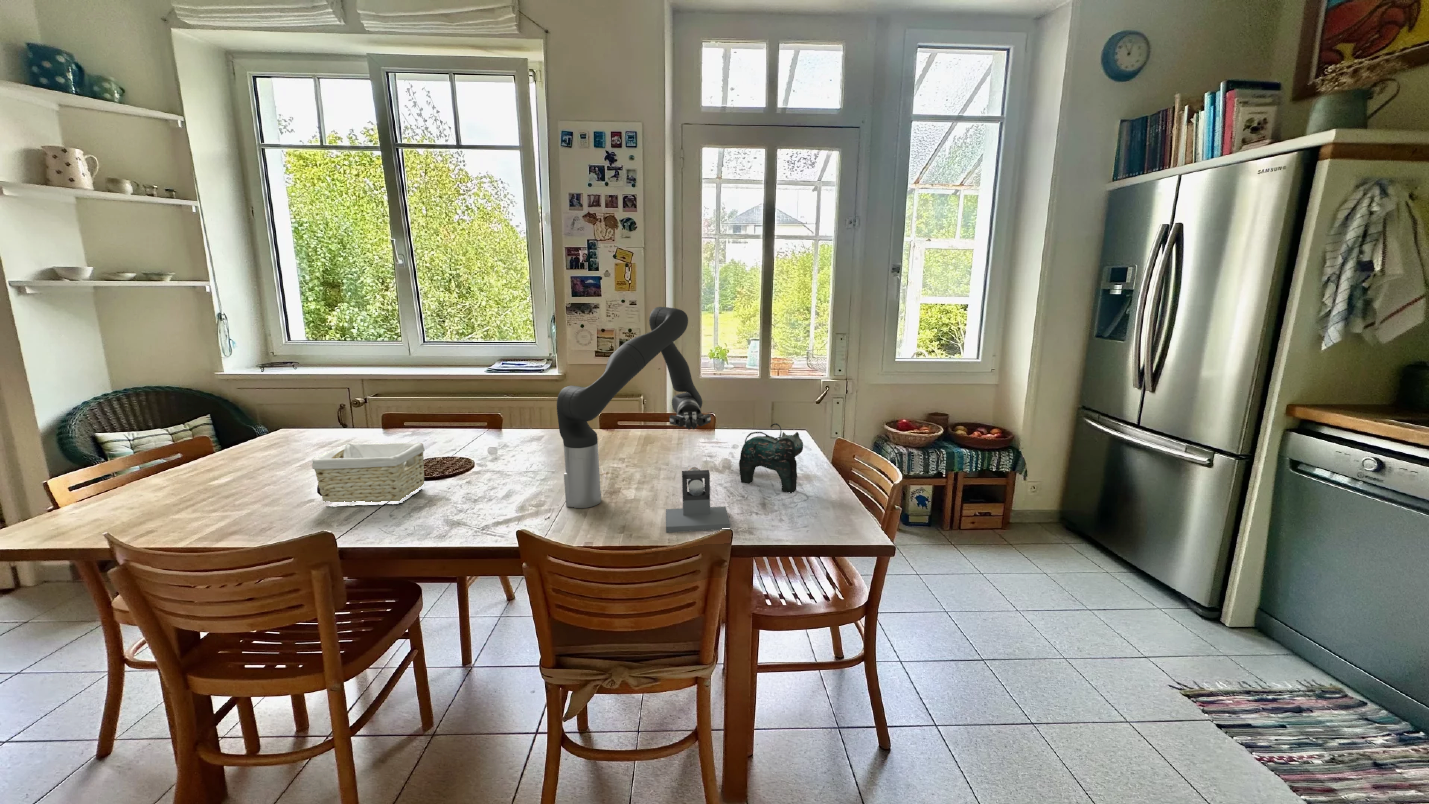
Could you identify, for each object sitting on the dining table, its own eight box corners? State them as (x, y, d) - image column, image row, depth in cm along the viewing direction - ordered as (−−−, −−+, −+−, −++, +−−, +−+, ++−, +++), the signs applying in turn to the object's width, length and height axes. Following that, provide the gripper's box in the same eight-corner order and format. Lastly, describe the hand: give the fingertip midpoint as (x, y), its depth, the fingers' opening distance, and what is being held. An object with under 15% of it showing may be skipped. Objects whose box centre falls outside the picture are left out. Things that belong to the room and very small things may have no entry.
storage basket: (315, 509, 150) (307, 458, 147) (353, 488, 166) (346, 442, 163) (402, 508, 150) (395, 457, 147) (431, 487, 166) (425, 441, 163)
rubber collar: (682, 500, 139) (682, 474, 137) (682, 496, 142) (681, 470, 140) (710, 499, 139) (709, 473, 138) (709, 495, 142) (708, 469, 141)
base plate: (666, 532, 133) (665, 511, 132) (665, 514, 144) (665, 494, 143) (730, 529, 134) (730, 508, 133) (725, 511, 145) (725, 492, 144)
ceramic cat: (803, 490, 160) (804, 425, 156) (793, 497, 155) (795, 429, 151) (745, 478, 171) (746, 416, 167) (735, 484, 166) (735, 420, 162)
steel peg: (688, 496, 137) (688, 481, 137) (687, 481, 148) (686, 467, 147) (704, 495, 138) (704, 480, 137) (701, 480, 149) (701, 467, 148)
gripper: (667, 401, 171) (668, 414, 155) (709, 400, 173) (714, 412, 156) (668, 424, 173) (668, 439, 156) (710, 423, 174) (714, 437, 157)
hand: (691, 426), depth 156 cm, fingers closed
